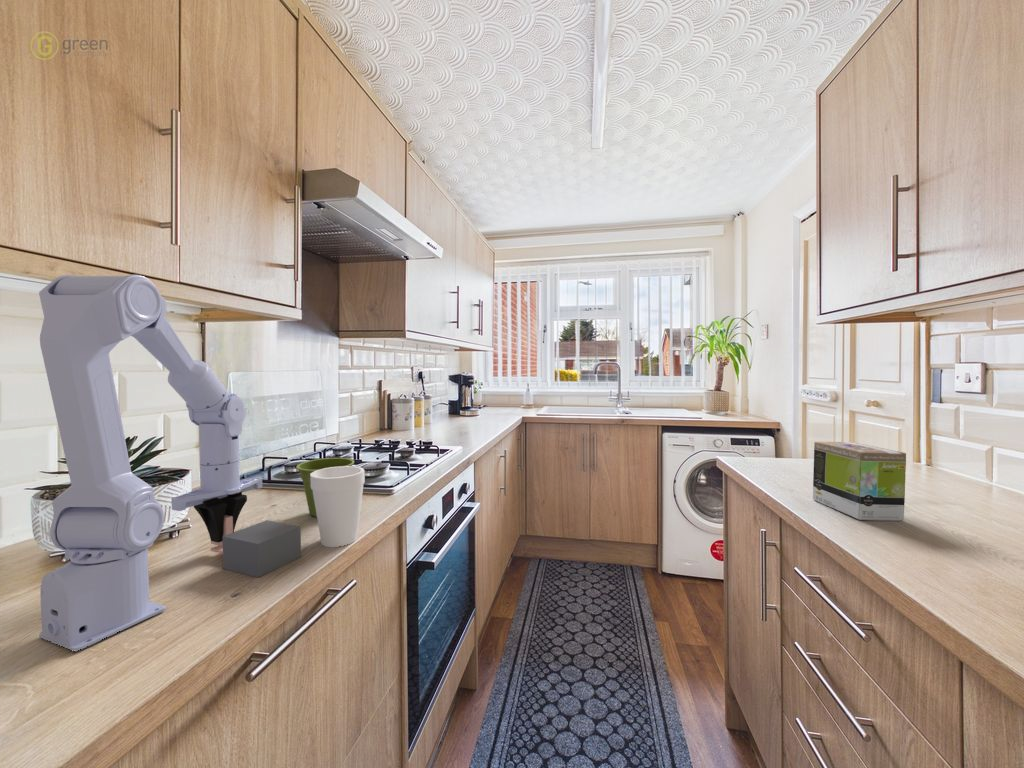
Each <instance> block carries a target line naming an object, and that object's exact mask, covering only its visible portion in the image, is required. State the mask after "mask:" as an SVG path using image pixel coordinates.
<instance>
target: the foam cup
mask: <svg viewBox="0 0 1024 768" xmlns="http://www.w3.org/2000/svg"><path fill="white" fill-rule="evenodd" d="M365 474H366V473H365V469H364V468H363V467H361V466H355V465H352V466H338V467H330V468H324V469H320V470H316V471H314V472H312V473H311V474H310V481H311V489H312V490H313V496H314V502H315V508H316V514H317V517H316V519H317V525H318V526H317V527H318V530H319V536H320V542H321V545H322V546H323V547H326V548H340V547H339V546H341V547H344V545H345V546H348V545H351V544H353V543H354V542H356V541H357V539H358V535H359V534H358V533H359V527H360V526H359V525H360V519H361V518H360V517H361V509H362V501H363V491H364V484H365V483H366V481H365V479H366V478H365ZM347 544H348V545H347Z"/></svg>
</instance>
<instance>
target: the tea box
mask: <svg viewBox="0 0 1024 768" xmlns="http://www.w3.org/2000/svg"><path fill="white" fill-rule="evenodd" d="M906 469H907V453H906V452H903V451H900V450H899V451H896V450H893V449H889V448H883V447H879V446H874V445H869V444H863V443H857V442H854V441H851V442H849V441H815V442H814V446H813V474H812V475H813V478H812V479H813V480H812V500H814V501H816V502H818V503H821V504H822V505H825V506H827V507H829V508H831V509H835V510H836V511H838V512H840V513H844V514H846V515H847V516H850V517H853V518H855V519H857V520H860V521H884V522H885V521H889V522H890V521H893V522H894V521H895V522H896V521H898V522H900V521H903V520H904V519H905V518H904V517H905V503H906V501H905V500H906V499H905V498H906V497H905V496H906Z"/></svg>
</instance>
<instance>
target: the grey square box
mask: <svg viewBox="0 0 1024 768" xmlns="http://www.w3.org/2000/svg"><path fill="white" fill-rule="evenodd" d="M301 529H302V528H301V525H297V524H291V523H285V522H280V521H279V522H278V521H274V520H268V519H267V520H264V521H260V522H259V523H255V524H254V525H250V526H247V527H245V528H242V529H239V530H236V531H234V532H233V533H231V534H228V535H225V536H222V538H223V554H222V568H223V570H227V571H231V572H236V573H240V574H243V575H248V576H251V577H254V578H255V577H256V578H260V577H263V576H264V575H266V574H269V573H271V572H273V571H275V570H277V569H278V568H281V567H283V566H285V565H288V564H290V563H291V562H293V561H296V560H297V559H299V558H301V557H302V544H301V543H302V538H301V537H302V534H301V532H302V531H301Z"/></svg>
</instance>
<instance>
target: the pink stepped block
mask: <svg viewBox="0 0 1024 768" xmlns="http://www.w3.org/2000/svg"><path fill="white" fill-rule="evenodd" d="M231 533H233V516H228V515H224V522H223V536H225V535H228V534H231ZM210 545H213V546H214V545H215V546H214V547H211V548H210V552H214V553H217V554H222V555H223V541H221V542H214V541H211V540H210Z"/></svg>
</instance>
